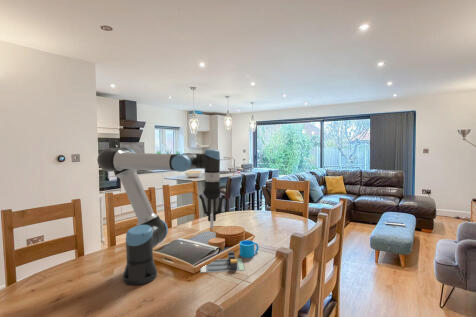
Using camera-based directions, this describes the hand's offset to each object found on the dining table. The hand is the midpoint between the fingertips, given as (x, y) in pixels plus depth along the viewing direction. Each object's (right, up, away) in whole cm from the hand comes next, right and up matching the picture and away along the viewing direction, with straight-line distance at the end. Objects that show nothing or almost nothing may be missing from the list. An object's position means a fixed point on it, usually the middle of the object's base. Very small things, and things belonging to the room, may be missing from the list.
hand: (211, 227), depth 132 cm
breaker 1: (+10, -19, +7) cm, 23 cm away
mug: (+20, -21, +16) cm, 32 cm away
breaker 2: (+10, -19, +2) cm, 22 cm away
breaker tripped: (+11, -20, -3) cm, 23 cm away
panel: (+5, -21, +2) cm, 22 cm away
